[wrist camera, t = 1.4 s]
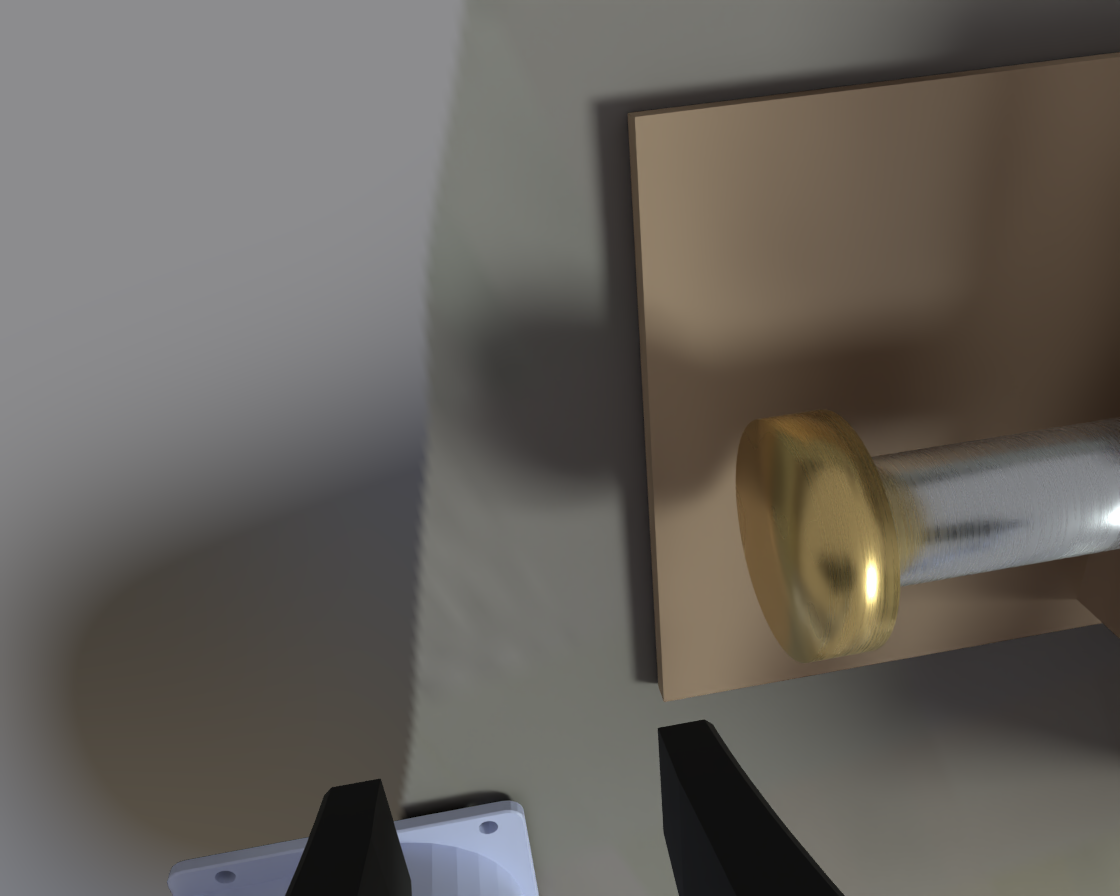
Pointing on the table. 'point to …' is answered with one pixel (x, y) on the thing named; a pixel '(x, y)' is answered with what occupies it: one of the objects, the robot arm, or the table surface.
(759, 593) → the shaft
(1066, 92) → the bearing block
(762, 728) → the table surface
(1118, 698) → the table surface
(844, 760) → the table surface
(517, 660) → the table surface
